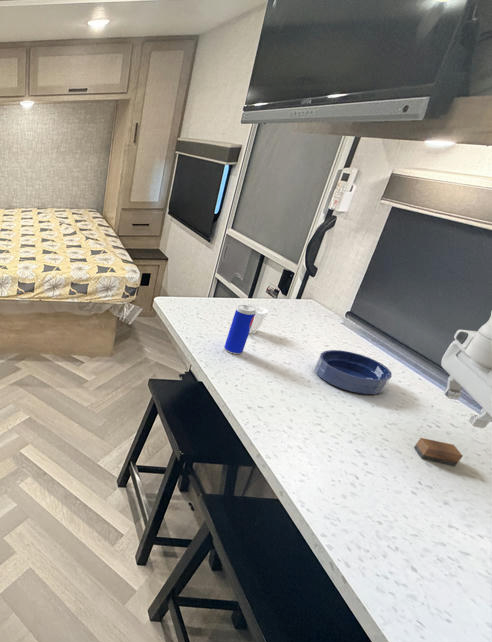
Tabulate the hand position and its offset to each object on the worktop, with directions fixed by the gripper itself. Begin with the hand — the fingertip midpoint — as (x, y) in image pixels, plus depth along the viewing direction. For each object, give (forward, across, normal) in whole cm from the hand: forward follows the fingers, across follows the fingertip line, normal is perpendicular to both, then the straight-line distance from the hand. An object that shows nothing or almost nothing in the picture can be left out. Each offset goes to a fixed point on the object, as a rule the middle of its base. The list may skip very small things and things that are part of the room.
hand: (462, 410), depth 81 cm
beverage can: (+13, +33, +36) cm, 50 cm away
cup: (+13, +49, +30) cm, 58 cm away
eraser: (+12, 0, 0) cm, 13 cm away
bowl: (+12, +28, +8) cm, 31 cm away
